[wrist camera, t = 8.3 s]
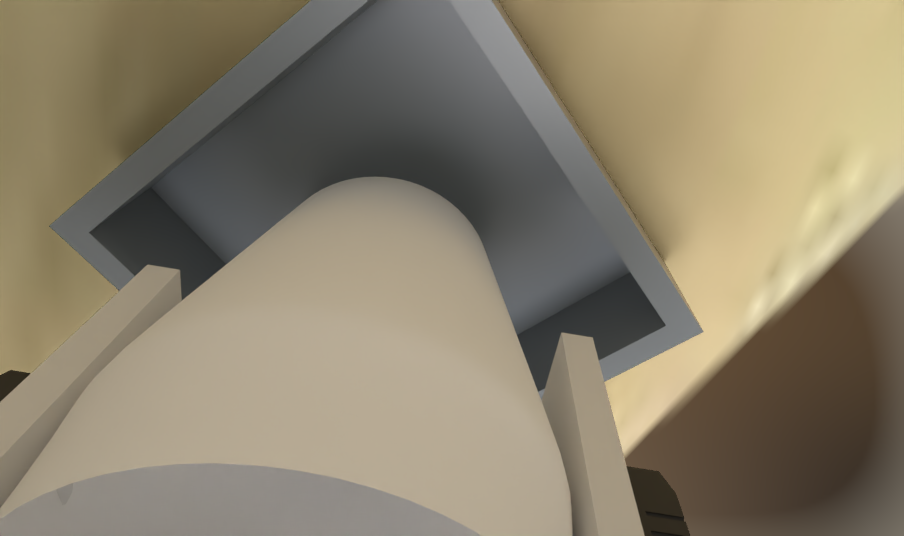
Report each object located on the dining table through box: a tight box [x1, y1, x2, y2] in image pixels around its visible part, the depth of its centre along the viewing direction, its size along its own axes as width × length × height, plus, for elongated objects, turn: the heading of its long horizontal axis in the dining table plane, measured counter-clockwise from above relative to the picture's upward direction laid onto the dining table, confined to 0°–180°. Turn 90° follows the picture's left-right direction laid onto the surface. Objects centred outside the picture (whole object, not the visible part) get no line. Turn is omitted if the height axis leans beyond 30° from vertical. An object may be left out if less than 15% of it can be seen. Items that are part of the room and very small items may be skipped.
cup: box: [0, 177, 573, 536], centre depth 14 cm, size 9×9×12 cm
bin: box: [49, 0, 703, 400], centre depth 20 cm, size 14×14×4 cm
